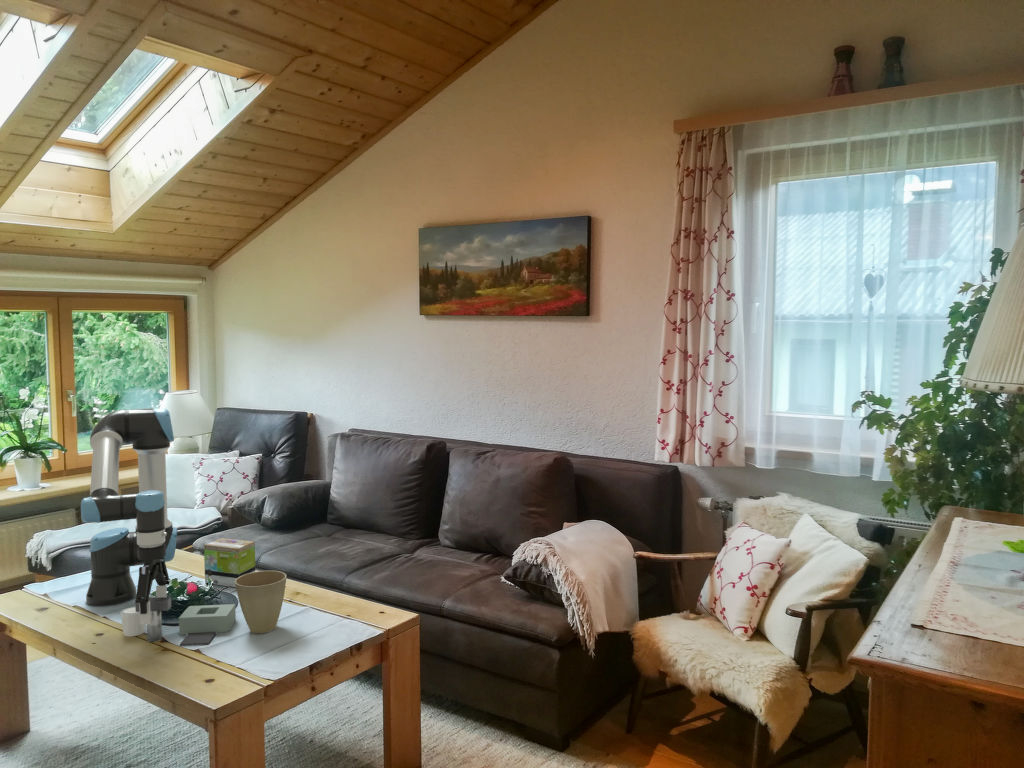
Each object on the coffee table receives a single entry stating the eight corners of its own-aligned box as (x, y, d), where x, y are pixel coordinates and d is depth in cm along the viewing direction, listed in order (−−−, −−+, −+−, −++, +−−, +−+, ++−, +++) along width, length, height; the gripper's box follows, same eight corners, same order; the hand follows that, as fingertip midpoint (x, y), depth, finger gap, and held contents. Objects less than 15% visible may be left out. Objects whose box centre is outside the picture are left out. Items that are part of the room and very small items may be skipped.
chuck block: (179, 634, 225) (178, 617, 225) (189, 621, 235) (189, 606, 234) (227, 631, 226) (226, 615, 226) (235, 619, 236) (235, 604, 236)
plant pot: (261, 617, 239) (260, 567, 238) (297, 624, 232) (296, 574, 231) (225, 633, 225) (223, 581, 224) (262, 642, 219) (261, 589, 218)
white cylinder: (115, 635, 224) (115, 612, 224) (134, 627, 231) (133, 604, 230) (133, 638, 222) (132, 615, 221) (151, 629, 228) (151, 607, 228)
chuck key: (136, 642, 219) (134, 602, 218) (141, 637, 223) (139, 597, 222) (168, 641, 220) (166, 601, 219) (172, 635, 224) (171, 596, 223)
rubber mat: (179, 645, 216) (179, 643, 216) (188, 635, 224) (188, 633, 224) (208, 644, 217) (208, 642, 217) (216, 633, 225) (216, 631, 225)
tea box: (203, 584, 270) (202, 544, 269) (222, 576, 280) (221, 537, 279) (239, 588, 266) (238, 547, 265) (256, 579, 275) (255, 540, 274)
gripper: (149, 556, 208) (151, 630, 209) (178, 532, 232) (180, 599, 234) (120, 557, 207) (123, 632, 208) (153, 533, 231) (155, 600, 233)
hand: (153, 615), depth 221 cm, fingers open, 13 cm apart
